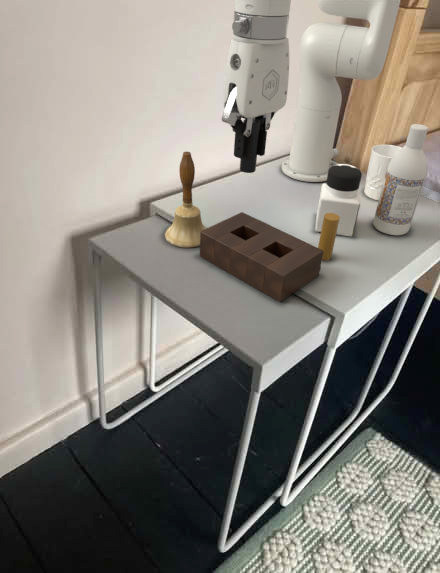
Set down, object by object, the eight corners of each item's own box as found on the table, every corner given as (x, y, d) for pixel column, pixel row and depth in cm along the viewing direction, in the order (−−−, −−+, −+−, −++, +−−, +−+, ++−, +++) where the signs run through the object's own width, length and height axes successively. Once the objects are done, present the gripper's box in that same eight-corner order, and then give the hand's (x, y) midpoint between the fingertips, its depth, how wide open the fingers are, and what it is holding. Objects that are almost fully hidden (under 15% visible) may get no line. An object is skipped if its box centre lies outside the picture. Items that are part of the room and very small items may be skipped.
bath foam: (377, 215, 102) (403, 117, 90) (411, 225, 99) (443, 125, 87) (368, 229, 97) (394, 127, 85) (404, 240, 94) (436, 136, 82)
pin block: (199, 256, 86) (200, 231, 83) (239, 235, 92) (241, 211, 89) (279, 302, 77) (284, 276, 74) (318, 275, 83) (324, 250, 80)
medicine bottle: (352, 237, 94) (366, 178, 87) (314, 232, 95) (325, 173, 88) (352, 219, 100) (365, 163, 93) (316, 215, 101) (326, 158, 93)
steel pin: (258, 170, 81) (263, 121, 76) (248, 174, 79) (252, 124, 75) (246, 165, 82) (250, 116, 78) (236, 169, 81) (239, 120, 76)
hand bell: (183, 253, 87) (184, 166, 77) (155, 233, 91) (153, 150, 82) (219, 238, 91) (223, 155, 82) (190, 220, 96) (192, 140, 87)
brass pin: (321, 251, 89) (329, 211, 85) (333, 256, 88) (342, 216, 83) (313, 256, 88) (321, 216, 83) (325, 262, 86) (334, 221, 82)
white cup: (354, 194, 109) (365, 150, 104) (371, 184, 114) (382, 141, 108) (387, 206, 105) (400, 161, 100) (403, 195, 110) (416, 151, 104)
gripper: (242, 37, 62) (232, 176, 72) (316, 27, 71) (297, 150, 82) (199, 28, 66) (196, 161, 76) (274, 19, 75) (262, 138, 86)
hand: (249, 154), depth 79 cm, fingers closed on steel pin, 2 cm apart
